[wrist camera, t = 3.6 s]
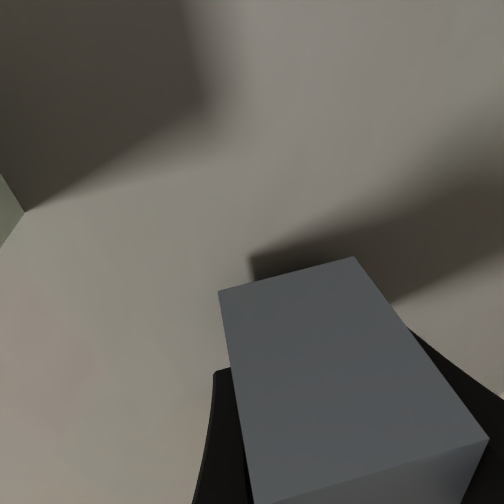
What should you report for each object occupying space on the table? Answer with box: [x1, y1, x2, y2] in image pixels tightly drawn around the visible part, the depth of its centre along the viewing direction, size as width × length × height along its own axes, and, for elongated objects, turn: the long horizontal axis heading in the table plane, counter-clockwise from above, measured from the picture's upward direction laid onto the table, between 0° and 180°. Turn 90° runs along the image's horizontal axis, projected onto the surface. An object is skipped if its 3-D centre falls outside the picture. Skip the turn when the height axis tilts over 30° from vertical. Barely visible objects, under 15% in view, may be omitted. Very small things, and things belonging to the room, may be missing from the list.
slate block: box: [218, 256, 490, 504], centre depth 10 cm, size 4×4×6 cm
